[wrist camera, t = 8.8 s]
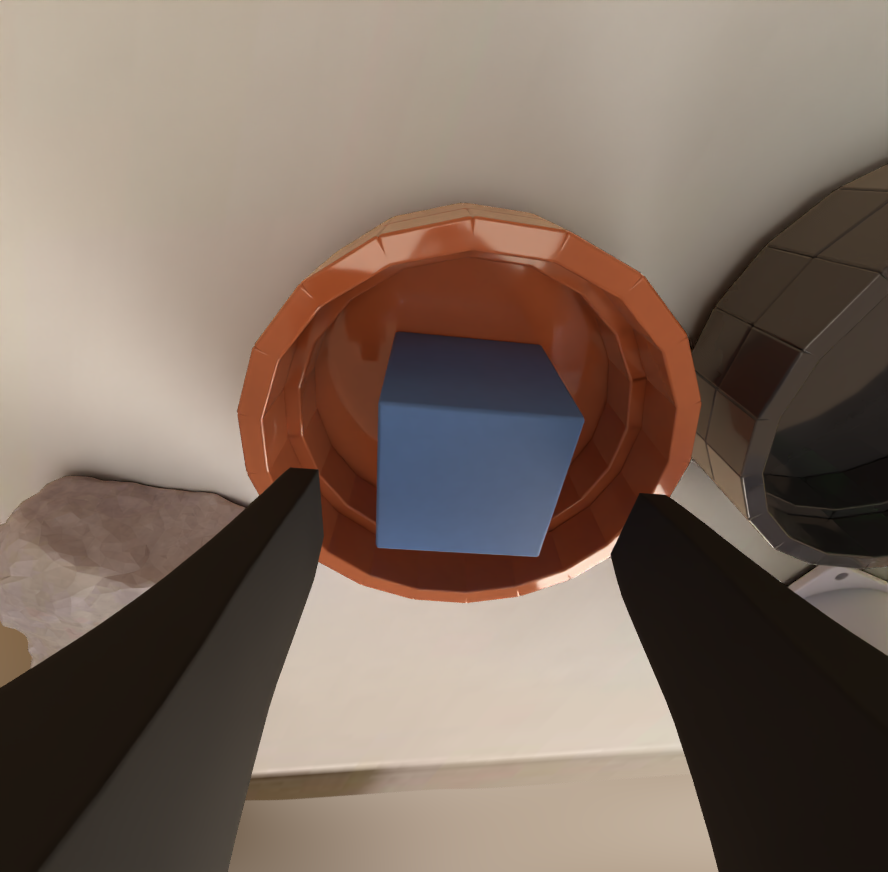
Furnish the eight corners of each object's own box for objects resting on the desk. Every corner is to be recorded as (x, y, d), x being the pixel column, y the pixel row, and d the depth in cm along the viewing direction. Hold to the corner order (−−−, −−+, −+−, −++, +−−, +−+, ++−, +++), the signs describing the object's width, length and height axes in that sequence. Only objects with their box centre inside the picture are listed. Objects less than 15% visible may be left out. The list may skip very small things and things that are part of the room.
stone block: (310, 483, 18) (22, 457, 15) (303, 578, 15) (-81, 573, 11) (283, 623, 25) (78, 627, 21) (273, 713, 21) (24, 736, 18)
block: (542, 344, 13) (587, 418, 9) (513, 461, 15) (539, 558, 11) (395, 330, 12) (377, 401, 9) (390, 451, 15) (374, 549, 11)
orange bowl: (711, 318, 13) (809, 371, 9) (516, 549, 18) (534, 634, 15) (356, 110, 10) (316, 81, 6) (254, 461, 16) (204, 542, 12)
